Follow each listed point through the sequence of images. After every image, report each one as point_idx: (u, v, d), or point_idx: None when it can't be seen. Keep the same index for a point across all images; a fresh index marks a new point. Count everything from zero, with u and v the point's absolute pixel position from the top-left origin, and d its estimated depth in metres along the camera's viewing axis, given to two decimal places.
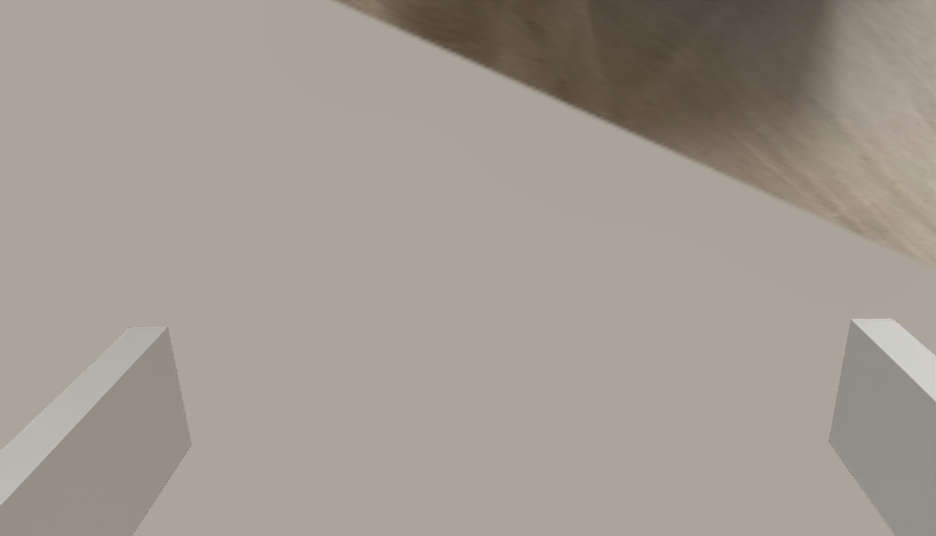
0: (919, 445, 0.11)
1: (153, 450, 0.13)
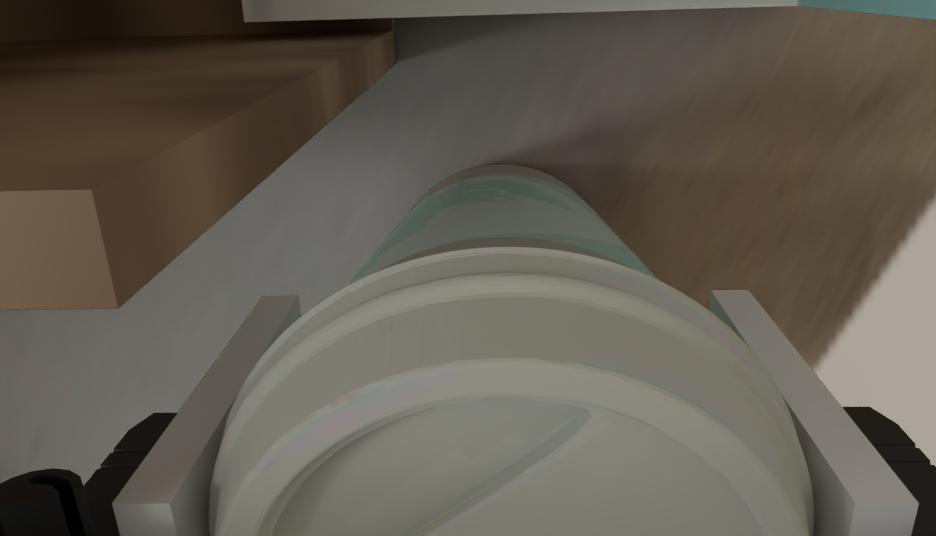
0: None
1: None
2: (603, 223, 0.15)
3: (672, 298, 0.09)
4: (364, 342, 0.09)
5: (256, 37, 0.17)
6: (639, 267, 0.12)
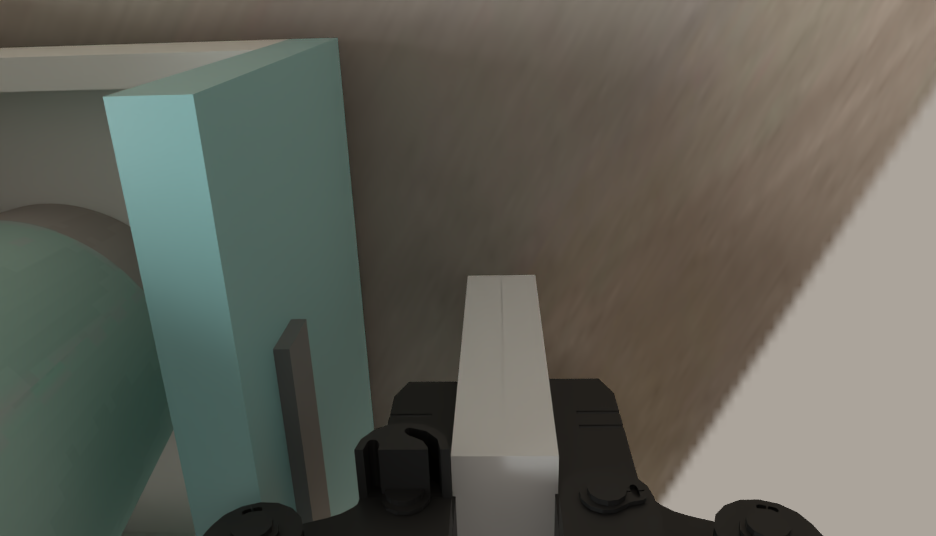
0: None
1: None
2: None
3: None
4: None
5: None
6: None
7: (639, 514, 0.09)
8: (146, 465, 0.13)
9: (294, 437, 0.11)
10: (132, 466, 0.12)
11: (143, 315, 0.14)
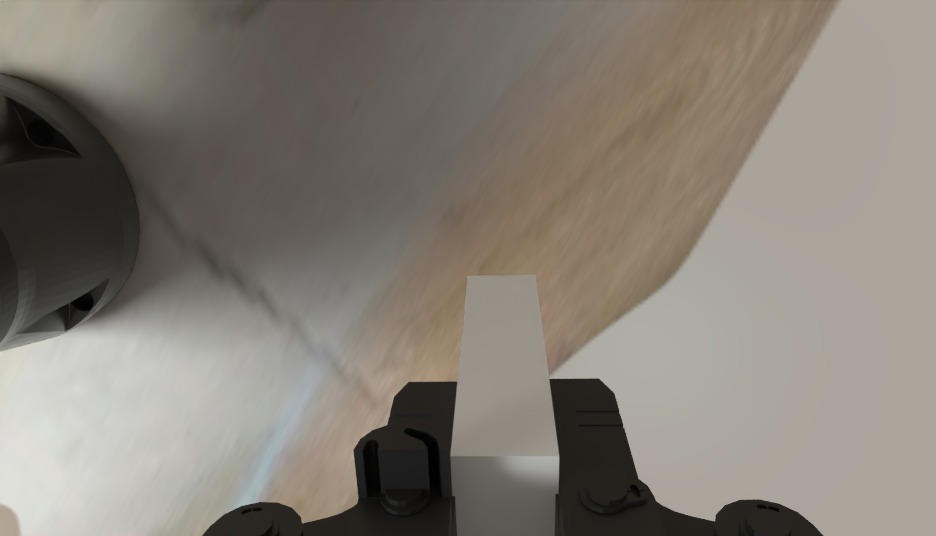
0: None
1: None
2: None
3: None
4: None
5: None
6: None
7: (640, 514, 0.09)
8: None
9: None
10: None
11: None
